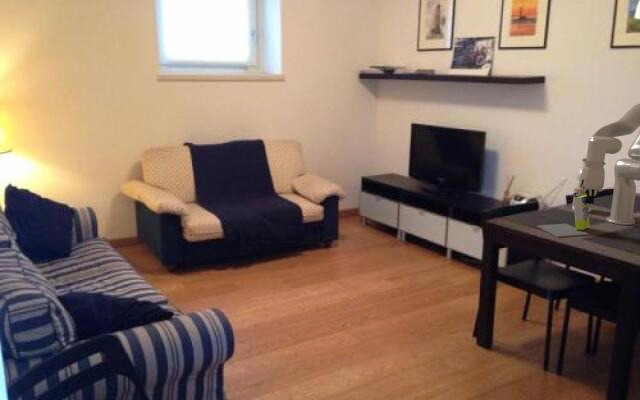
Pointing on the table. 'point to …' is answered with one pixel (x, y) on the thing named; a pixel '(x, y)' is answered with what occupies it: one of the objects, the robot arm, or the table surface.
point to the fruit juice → (579, 182)
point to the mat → (562, 230)
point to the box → (581, 211)
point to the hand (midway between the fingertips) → (589, 203)
